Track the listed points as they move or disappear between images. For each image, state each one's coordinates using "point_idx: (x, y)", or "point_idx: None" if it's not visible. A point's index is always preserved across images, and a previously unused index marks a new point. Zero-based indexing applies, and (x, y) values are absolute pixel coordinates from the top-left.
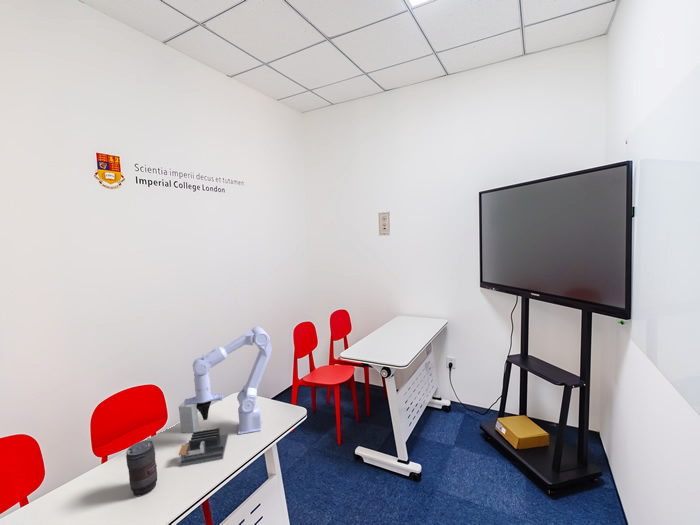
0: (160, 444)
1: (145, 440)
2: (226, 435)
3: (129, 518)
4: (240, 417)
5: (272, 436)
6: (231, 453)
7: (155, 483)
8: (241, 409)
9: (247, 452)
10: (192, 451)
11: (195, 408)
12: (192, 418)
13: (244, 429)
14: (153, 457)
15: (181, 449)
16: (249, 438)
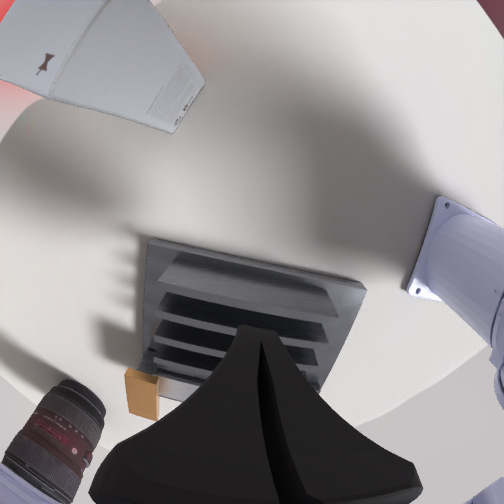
0: (38, 181)
1: (19, 476)
2: (358, 301)
3: (98, 443)
4: (471, 318)
5: (472, 349)
6: (337, 394)
7: (103, 414)
8: (497, 396)
9: (382, 402)
10: (181, 387)
11: (135, 38)
12: (129, 119)
13: (439, 297)
14: (79, 484)
15: (131, 398)
16: (425, 336)
